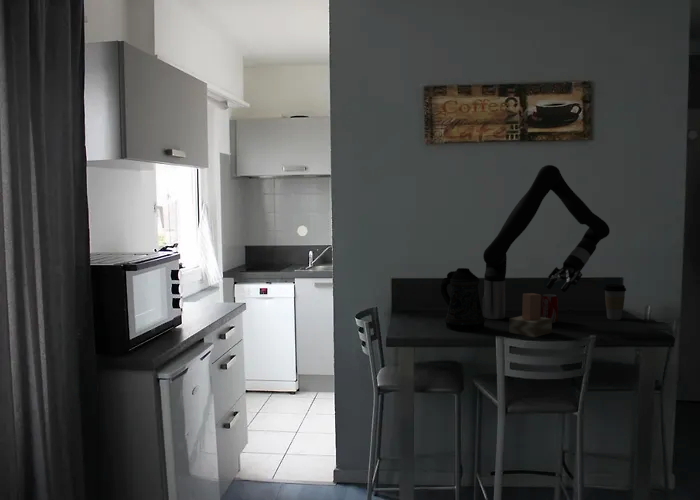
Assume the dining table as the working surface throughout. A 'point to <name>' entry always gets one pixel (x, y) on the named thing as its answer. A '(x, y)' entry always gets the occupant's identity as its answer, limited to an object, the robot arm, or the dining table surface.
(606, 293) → the coffee cup
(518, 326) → the birch box
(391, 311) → the dining table surface
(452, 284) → the beer stein
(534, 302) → the terracotta block
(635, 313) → the dining table surface
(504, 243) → the robot arm
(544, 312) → the soda can
